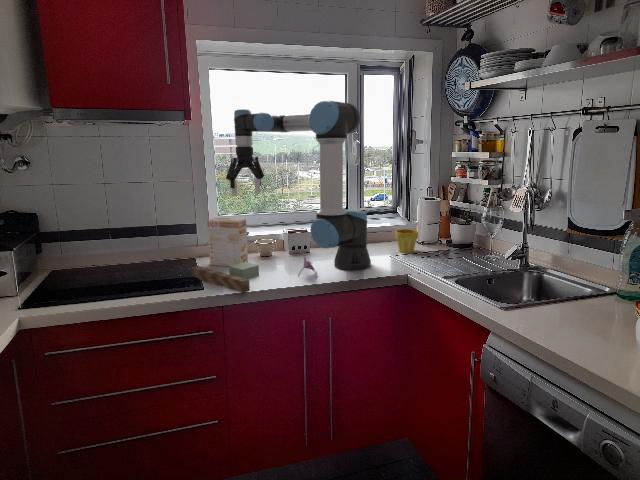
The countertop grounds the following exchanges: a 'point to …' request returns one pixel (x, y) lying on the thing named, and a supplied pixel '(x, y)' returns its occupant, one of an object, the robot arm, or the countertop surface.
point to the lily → (307, 265)
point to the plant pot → (406, 239)
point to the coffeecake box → (227, 241)
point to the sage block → (244, 270)
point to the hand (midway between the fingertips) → (246, 194)
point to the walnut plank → (221, 278)
